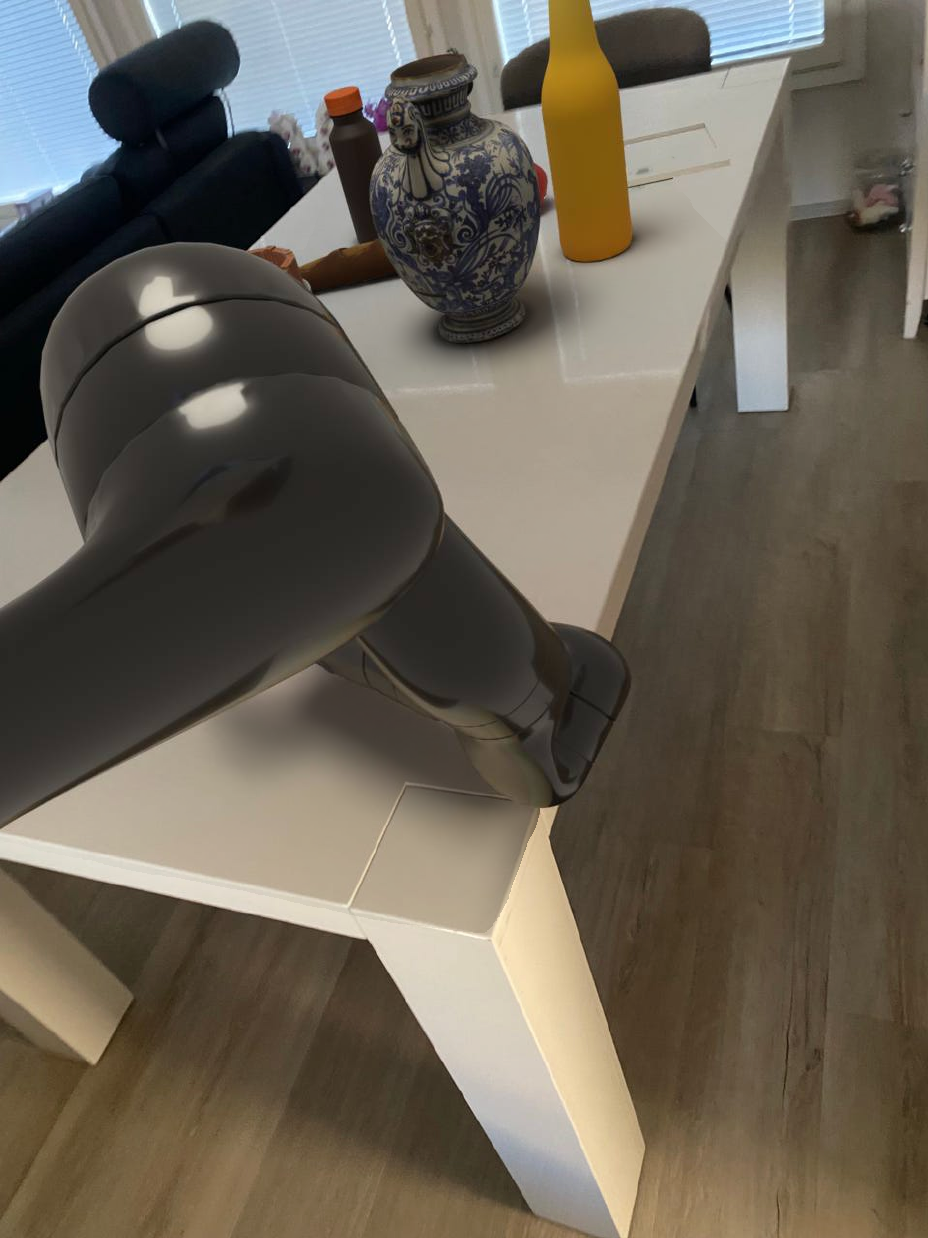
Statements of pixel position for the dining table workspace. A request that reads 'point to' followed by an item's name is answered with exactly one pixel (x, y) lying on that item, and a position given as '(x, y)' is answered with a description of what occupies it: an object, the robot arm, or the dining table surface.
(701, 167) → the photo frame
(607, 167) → the beer bottle
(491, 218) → the decorative vase
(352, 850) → the dining table surface
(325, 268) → the bread
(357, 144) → the vinegar
